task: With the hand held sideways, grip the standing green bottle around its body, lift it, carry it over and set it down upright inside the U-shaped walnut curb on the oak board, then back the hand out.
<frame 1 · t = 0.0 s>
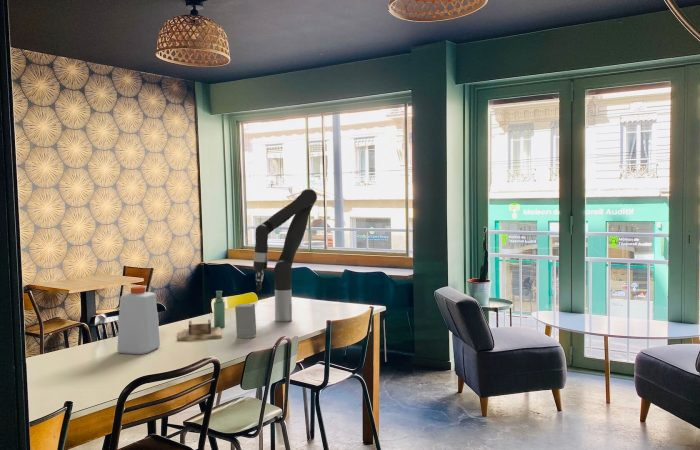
hand: (258, 289, 300), 17 cm above the table, tool pointing down, fingers open, 8 cm apart
skincare box: (246, 337, 264), on the table
plastic bottle: (139, 350, 241), on the table
u rest: (200, 335, 268), on the table
bottle: (219, 327, 286), on the table
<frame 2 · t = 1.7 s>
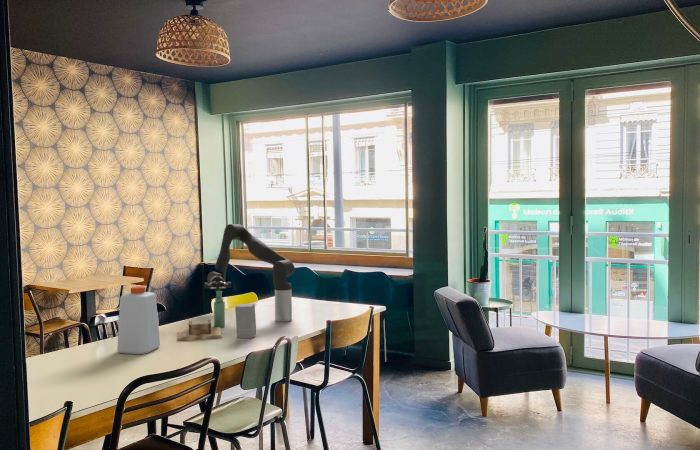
hand: (218, 287, 295), 19 cm above the table, tool horizontal, fingers open, 8 cm apart
nothing on the table moved.
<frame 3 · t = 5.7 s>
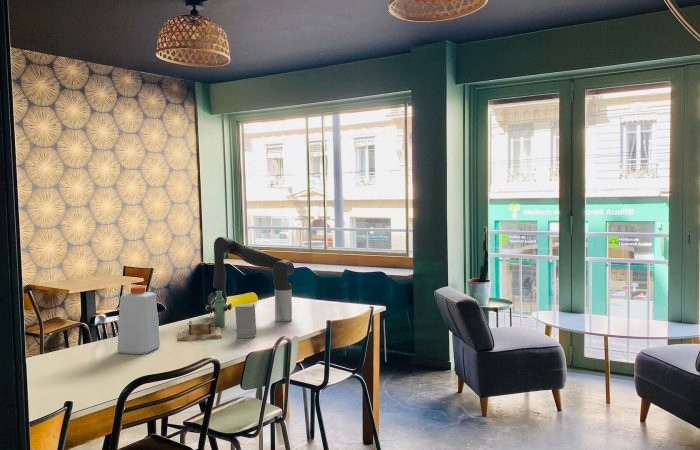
hand: (219, 309, 283), 10 cm above the table, tool horizontal, fingers closed on bottle, 5 cm apart
bottle: (219, 326, 286), on the table, touching gripper
everything else where it was.
when the fingers open (12 cm above the table, at t = 11.2 s): bottle drops 1 cm, resting on u rest.
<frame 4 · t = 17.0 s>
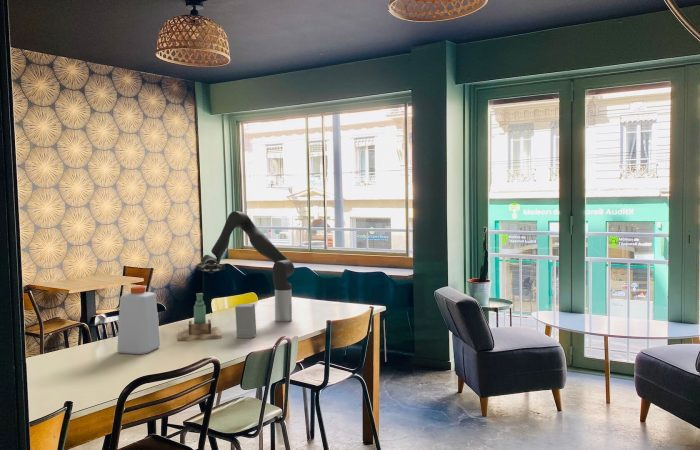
hand: (211, 268, 290), 30 cm above the table, tool horizontal, fingers open, 8 cm apart
bottle: (199, 331, 268), point 2 cm above the table, touching u rest
everything else where it was.
at the end: bottle 0.2 cm off-centre on the u rest, point 1.5 cm above the u rest's base; bottle tilted 0°; the gripper is holding nothing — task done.
